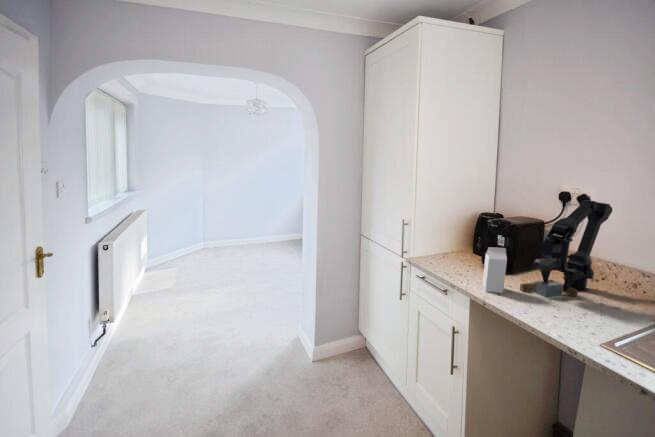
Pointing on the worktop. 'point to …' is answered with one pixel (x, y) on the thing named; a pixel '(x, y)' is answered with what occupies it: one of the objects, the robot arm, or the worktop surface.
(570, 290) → the wooden corner frame
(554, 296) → the pad
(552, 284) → the bracket
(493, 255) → the milk carton
